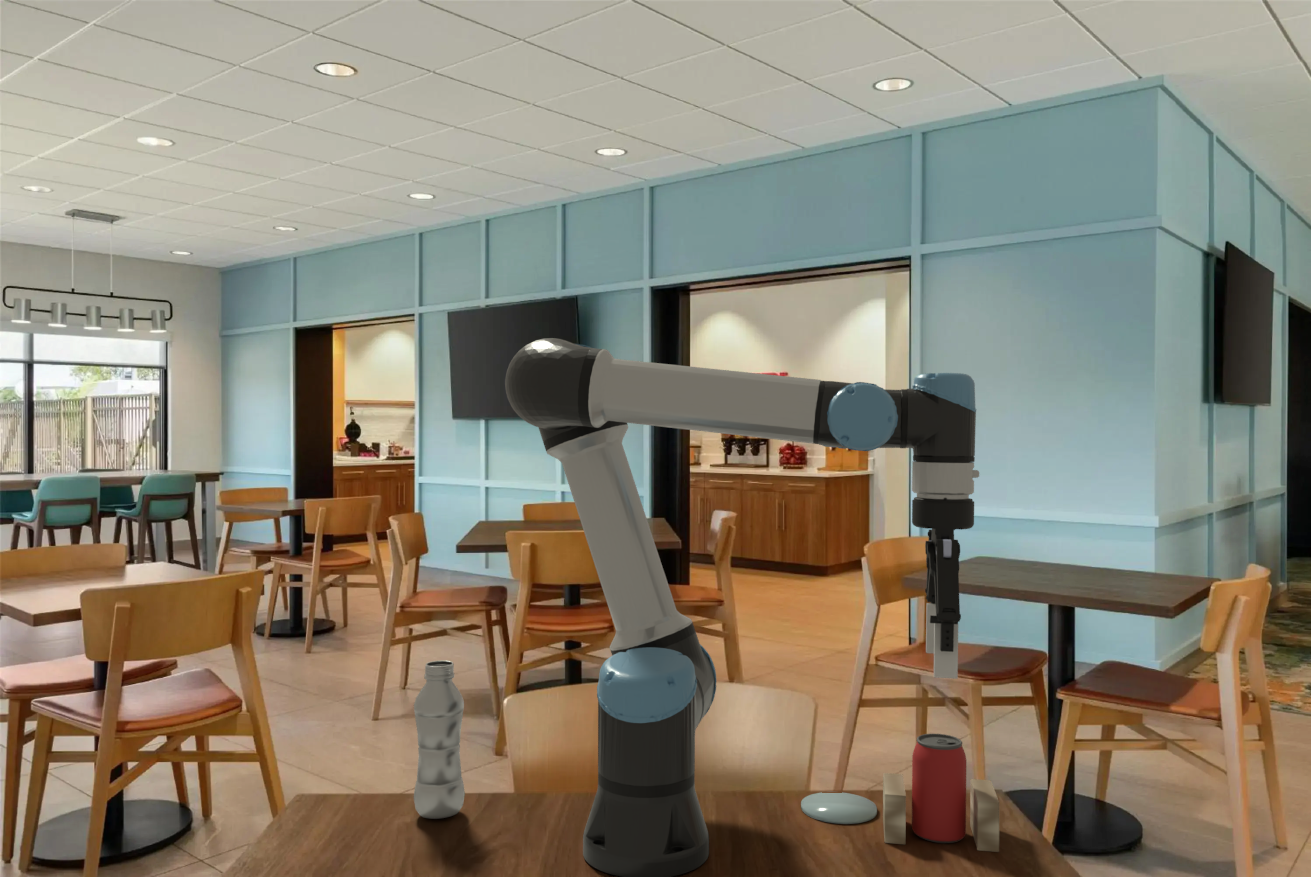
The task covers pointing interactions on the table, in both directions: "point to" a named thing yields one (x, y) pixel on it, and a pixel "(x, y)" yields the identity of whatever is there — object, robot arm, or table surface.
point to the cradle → (981, 812)
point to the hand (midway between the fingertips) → (940, 665)
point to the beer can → (939, 788)
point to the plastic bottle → (439, 743)
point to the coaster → (839, 808)
